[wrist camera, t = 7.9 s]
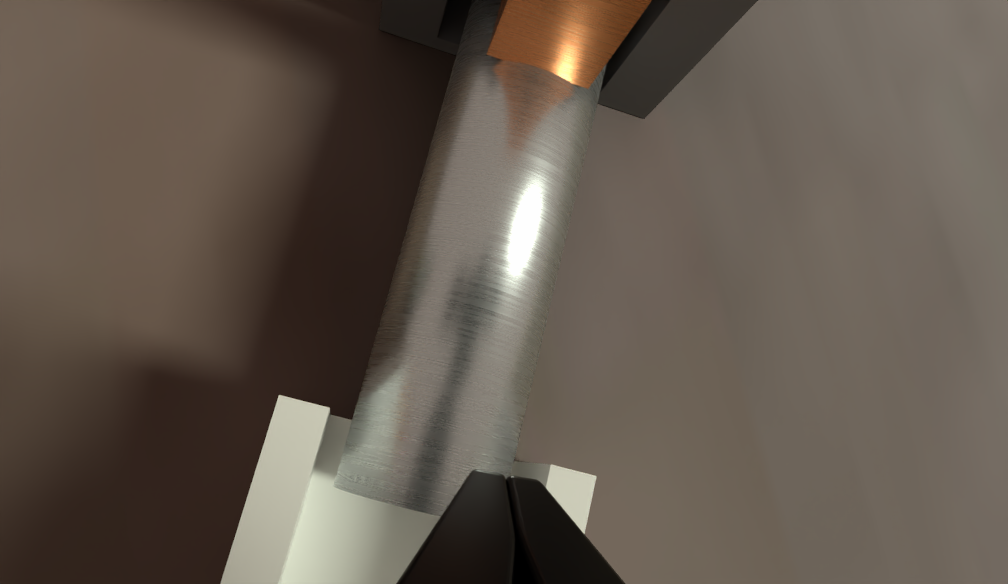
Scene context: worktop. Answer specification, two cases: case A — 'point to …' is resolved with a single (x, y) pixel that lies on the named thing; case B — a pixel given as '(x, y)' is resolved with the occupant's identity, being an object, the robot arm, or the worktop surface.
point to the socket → (634, 65)
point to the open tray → (341, 509)
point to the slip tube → (481, 251)
